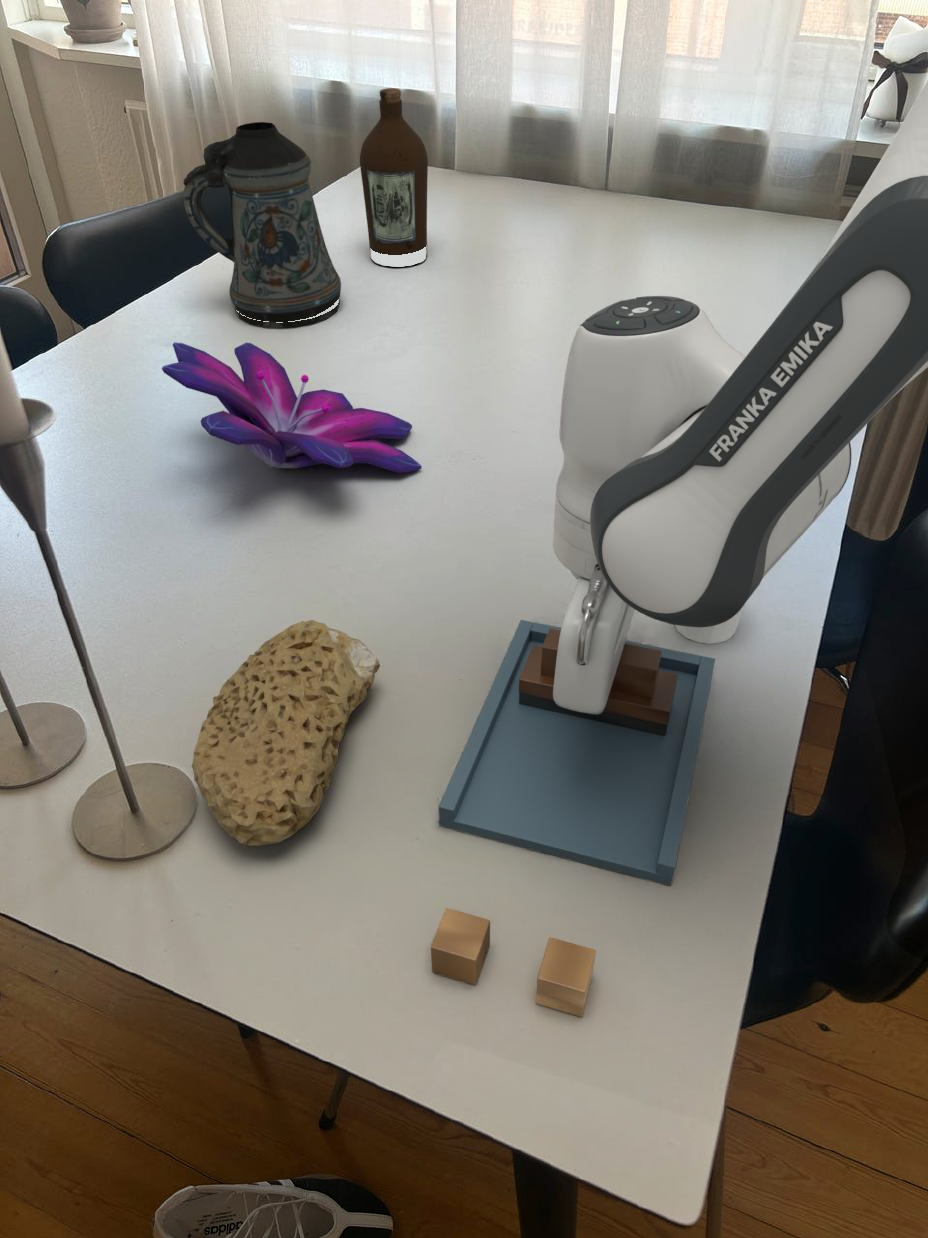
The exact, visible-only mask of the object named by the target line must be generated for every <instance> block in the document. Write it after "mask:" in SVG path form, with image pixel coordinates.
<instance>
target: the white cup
mask: <svg viewBox="0 0 928 1238" xmlns="http://www.w3.org/2000/svg"><path fill="white" fill-rule="evenodd" d="M746 603H747V602H746ZM746 603H745V604H744V606H743V607H742V608H741V609H740V611H739V612H738V613H737V614H736V615H735V616H733V617H732V618H731V619H729V620H728V621H726V622H723V623H721V624H718V625H715V626H710V627H688V626H680V625H675V624H673V625H674V627H675V629H676V631H677V632H678V633H680V634H681V635H682V636H683V637H684V638H685V639H688V640H691V641H693V642H695V643H700V644H706V645H712V644H713V645H714V644H721V643H723V642H725V641H729V639H731V638H732V637H733V636H734V634H735V633H736V632H737V628H738V626H739V624H740V620H741V617H742V615H743V612H744V609H745V607H746Z"/></svg>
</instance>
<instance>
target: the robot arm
mask: <svg viewBox="0 0 928 1238" xmlns="http://www.w3.org/2000/svg"><path fill="white" fill-rule="evenodd" d="M569 348H570V349H569V353H568V356H567V362H566V365H565V372H564V379H563V383H562V384H563V385H562V394H561V402H560V403H561V404H560V414H559V431H558V433H559V435H558V436H559V442H560V445H561V450H562V454H563V463H562V467H561V470H560V472H559V474H558V477H557V480H556V485H555V500H554V501H555V504H554V517H553V533H552V549H553V552H554V555H555V557H556V558H557V561H559V562H560V563H561V565H562V566H563V567H565V568H566V569H567V570H568V571H570V573H571V574H572V576H573V577H574V578H575V579H576V580H577V581H576V584H575V586H574V589H573V592H572V595H571V596H570V599H569V602H568V604H567V607H566V610H565V613H564V616H563V619H562V622H561V623H562V624H561V632H560V637H559V644H558V651H557V660H556V668H555V678H554V687H553V699H554V701H555V703H556V704H557V705H558V706H560V707H563V708H566V709H570V710H573V711H577V712H582V713H589V714H600V713H602V712H603V710H604V708H605V706H606V703H607V700H608V696H609V693H610V690H611V687H612V683H613V680H614V677H615V673H616V670H617V667H618V664H619V660H620V657H621V654H622V650H623V647H624V644H625V641H627V637H628V633H629V631H630V627H631V624H632V620H633V617H634V614H635V611H636V612H638V613H640V614H642V615H644V616H646V617H649V618H651V619H653V620H656V621H658V622H661V623H662V622H663V623H666V624H670V625H674V624H675V625H680V626H688V627H710V626H715V625H718V624H721V623H723V622H726V621H728V620H729V619H731V618H732V617H733V616H735V615H736V614H737V613H738V612H739V611H740V609H741V608H742V607H743V606H744V604H745V603H747V602H748V601H749V599H750V598H751V597H752V595H753V594H754V593H755V591H756V590H757V589H758V587H759V586H760V585H761V582H762V580H763V579H764V578H765V577H766V575H767V574H768V573H769V572H770V571H771V570H772V569H773V568H774V567H775V565H776V564H777V563H778V562H779V561H780V560H781V559H782V558H783V557H784V556H785V555H786V554H787V552H788V551H789V550H790V549H791V548H792V547H793V546H794V545H795V543H796V542H797V541H798V540H799V539H800V538H801V537H802V536H803V535H804V534H805V532H806V531H807V530H808V529H809V528H810V527H811V526H812V525H813V524H814V523H815V522H816V520H817V519H818V518H819V517H820V516H821V515H822V514H823V513H824V511H826V509H827V508H828V507H829V505H830V504H831V503H832V502H833V500H835V499H836V498H837V496H838V495H839V494H840V493H841V491H842V490H843V488H844V487H845V485H846V484H847V480H848V478H849V475H850V471H851V466H852V444H851V441H853V439H854V438H855V437H856V436H857V435H858V434H859V433H860V432H861V431H862V430H863V429H864V428H865V427H866V426H867V425H868V424H869V423H870V422H871V420H873V418H874V417H875V416H877V414H878V413H879V412H880V411H881V410H882V409H883V408H884V407H885V406H886V405H887V404H888V403H889V402H890V401H891V400H892V399H893V398H894V397H895V396H896V395H897V394H898V393H900V391H902V390H903V389H904V388H905V387H906V386H908V385H909V384H910V383H911V382H912V381H913V380H914V379H915V378H916V377H918V376H919V375H920V374H922V373H923V372H924V371H925V370H926V369H928V80H927V81H926V82H925V84H924V85H923V87H922V89H921V90H920V92H919V94H918V95H917V97H916V99H915V101H914V102H913V104H912V106H911V107H910V109H909V111H908V112H907V114H906V116H905V118H904V119H903V121H902V123H901V125H900V127H899V128H898V130H897V131H896V133H895V135H894V137H893V138H892V140H891V142H890V143H889V145H888V147H887V149H886V150H885V152H884V153H883V155H882V157H881V158H880V160H879V162H878V164H877V165H876V167H875V168H874V170H873V171H872V174H871V175H870V177H869V178H868V180H867V182H866V183H865V185H864V186H863V188H862V190H861V191H860V193H859V195H858V196H857V198H856V200H855V201H854V203H853V204H852V206H851V208H850V209H849V211H848V212H847V214H846V216H845V217H844V219H843V221H842V223H841V224H840V226H839V227H838V229H837V231H836V232H835V233H834V235H833V237H832V238H831V241H830V242H829V243H828V245H827V247H826V248H825V250H824V252H823V253H822V254H821V256H820V258H819V259H818V260H817V262H816V264H815V266H814V267H813V269H812V270H811V272H810V274H809V275H808V277H806V279H805V280H804V281H803V282H802V284H801V285H800V287H799V288H798V289H797V291H796V292H795V293H794V294H793V296H792V297H791V298H790V300H789V301H788V302H787V303H786V305H785V306H784V307H783V309H782V310H781V312H779V314H778V315H777V316H776V317H775V319H774V320H773V322H772V323H771V324H770V325H769V326H768V327H767V329H766V331H765V332H763V334H762V336H761V337H760V338H759V339H758V341H756V343H755V344H754V345H753V347H752V348H751V350H750V351H749V352H748V354H746V355H744V354H743V353H742V352H740V351H739V350H738V349H736V348H735V347H734V346H732V344H731V343H729V342H728V341H727V340H726V339H725V338H724V337H722V335H721V334H720V333H719V331H718V330H717V328H715V326H714V324H713V323H712V322H711V319H710V317H709V316H708V315H707V313H706V312H705V310H704V309H703V308H702V307H701V306H700V305H698V304H696V303H694V302H692V301H689V300H686V299H684V298H681V297H677V296H671V295H670V296H669V295H647V296H636V297H635V298H629V299H625V300H619V301H616V302H614V303H612V304H610V305H607V306H605V307H604V308H602V309H600V310H598V311H597V312H595V313H593V314H592V315H590V316H589V317H587V318H586V319H585V320H584V321H583V322H582V323H581V324H580V325H579V326H578V328H577V330H576V332H575V334H574V337H573V339H572V341H571V345H570V347H569ZM745 605H746V604H745ZM744 607H745V606H744ZM675 625H674V626H675Z"/></svg>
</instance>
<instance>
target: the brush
mask: <svg viewBox="0 0 928 1238" xmlns="http://www.w3.org/2000/svg"><path fill="white" fill-rule="evenodd" d="M560 632H561V630H556V629H551V628H550V629H549V631H548V633H547V636H546V638H545V641H544V643H543V646H537V645H533V647H532V649H531V651H530V654H529V656H528V659H527V661H526V664H525V666H524V668H523V671H522V673H521V676H520V678H519V704H522V705H527V706H531V707H536V708H540V709H545V710H549V711H554V712H558V713H563V714H567V715H572V716H576V717H580V718H585V719H589V720H594V721H598V722H603V723H607V724H612V725H616V726H621V727H625V728H630V729H634V730H639V731H643V732H648V733H652V734H657V735H661V736H665V735H666V732H667V727H668V723H669V719H670V714H671V710H672V705H673V701H674V695H675V690H676V685H677V679H678V674H673V673H668V672H663V671H659V666H660V660H661V654H662V651H660V650H655V649H650V648H645V647H640V646H635V645H630V644H624V647H623V650H622V654H621V657H620V660H619V664H618V667H617V670H616V673H615V677H614V680H613V683H612V687H611V690H610V693H609V696H608V700H607V703H606V706H605V708H604V710H603V712H602V713H600V714H589V713H582V712H577V711H573V710H570V709H566V708H563V707H560V706H558V705H557V704H556V703H555V701H554V699H553V687H554V678H555V668H556V660H557V651H558V644H559V637H560Z"/></svg>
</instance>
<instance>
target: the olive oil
mask: <svg viewBox="0 0 928 1238" xmlns="http://www.w3.org/2000/svg"><path fill="white" fill-rule="evenodd" d="M379 97H380V100H379V114H380V117H379V119H378V122H376V124H375V125H374V126H373V128H372V129H371V130H370V132H369V133H368V135H367V136H366V137H365V139H364V140H363V142H362V144H361V147H360V148H361V150H360V152H359V153H360V154H359V167H360V168H359V169H360V176H361V183H362V184H361V185H362V191H363V192H362V193H363V199H364V200H363V201H364V207H365V217H366V225H367V234H368V244H369V249H370V248H371V249H372V250H373V251H375V252H378V253H380V254H381V253H382V254H388V255H402V254H408V253H413V252H416V251H419V250H421V249H423V248H424V247H426V245H427V246H428V177H429V176H428V171H429V169H428V168H429V160H428V153H427V149H426V146H425V143H424V141H423V139H422V138H421V136H419V134H418V133H417V132H416V131H415V130H414V129H413V128H412V127H411V126H410V124H408V123H407V121H406V120H405V118H404V117H403V100H402V99H401V97H402V93H401V89H399V88H392V87H390V88H382V89H381V90H379Z"/></svg>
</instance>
